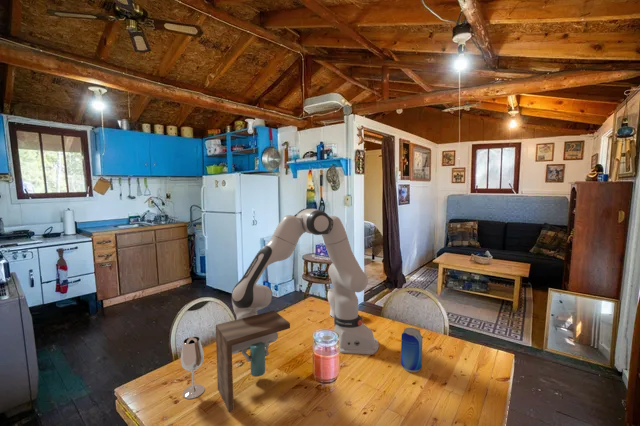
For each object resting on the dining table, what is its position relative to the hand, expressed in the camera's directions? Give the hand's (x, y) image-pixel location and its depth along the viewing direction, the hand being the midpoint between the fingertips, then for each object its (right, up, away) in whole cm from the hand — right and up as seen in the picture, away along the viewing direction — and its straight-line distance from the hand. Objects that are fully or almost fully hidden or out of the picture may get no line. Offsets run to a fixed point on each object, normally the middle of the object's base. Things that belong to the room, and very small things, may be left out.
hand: (258, 358), depth 116 cm
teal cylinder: (0, -6, +1) cm, 6 cm away
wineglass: (-23, -10, -6) cm, 26 cm away
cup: (+34, -4, +61) cm, 70 cm away
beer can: (+63, -9, +9) cm, 64 cm away
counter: (-1, -9, -3) cm, 10 cm away
